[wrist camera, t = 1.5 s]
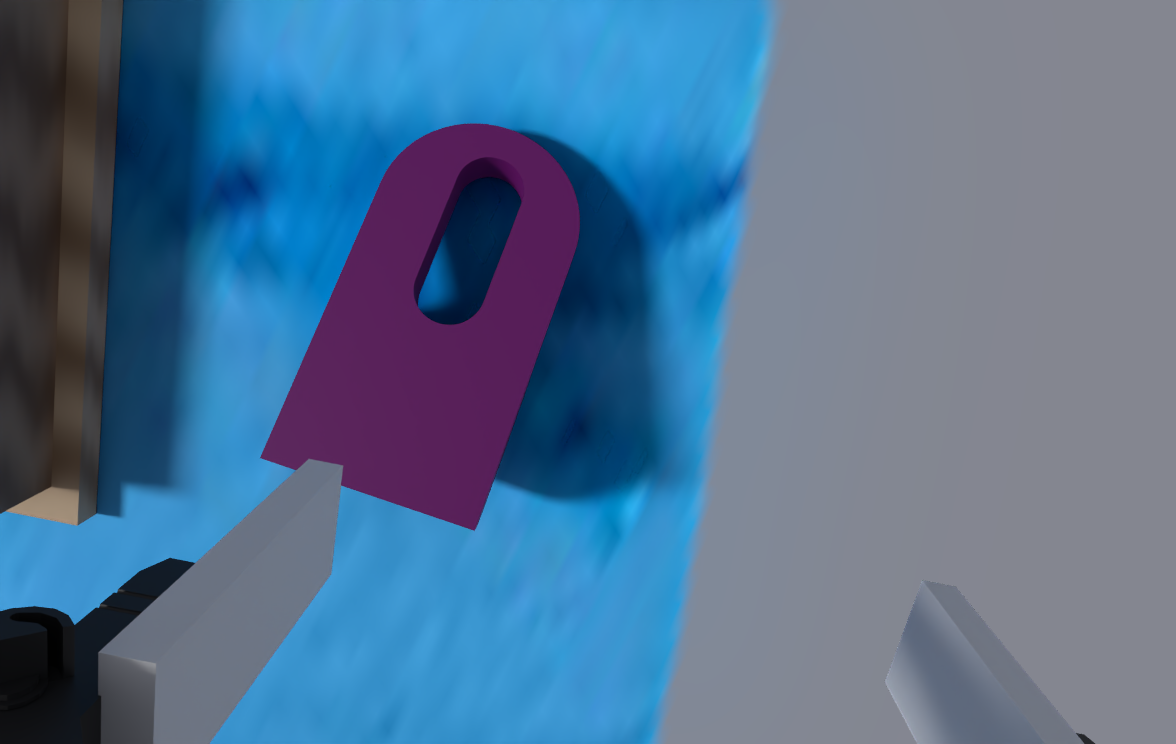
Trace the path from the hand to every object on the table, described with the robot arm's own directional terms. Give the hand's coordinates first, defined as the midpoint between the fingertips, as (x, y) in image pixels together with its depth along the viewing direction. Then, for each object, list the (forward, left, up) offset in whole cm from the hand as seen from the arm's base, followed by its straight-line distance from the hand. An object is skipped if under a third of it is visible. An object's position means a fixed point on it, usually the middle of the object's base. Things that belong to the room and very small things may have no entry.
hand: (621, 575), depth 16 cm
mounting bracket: (+1, +8, -23) cm, 25 cm away
